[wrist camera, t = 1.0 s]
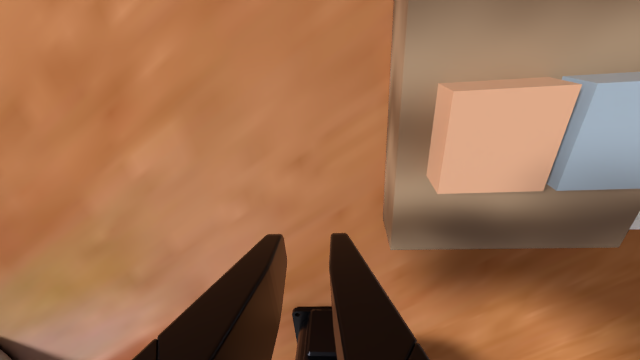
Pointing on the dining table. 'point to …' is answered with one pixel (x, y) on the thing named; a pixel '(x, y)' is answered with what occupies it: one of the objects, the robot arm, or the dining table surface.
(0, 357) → the canister
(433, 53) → the walnut board
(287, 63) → the dining table surface
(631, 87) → the slate tile
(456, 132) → the terracotta tile
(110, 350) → the dining table surface
